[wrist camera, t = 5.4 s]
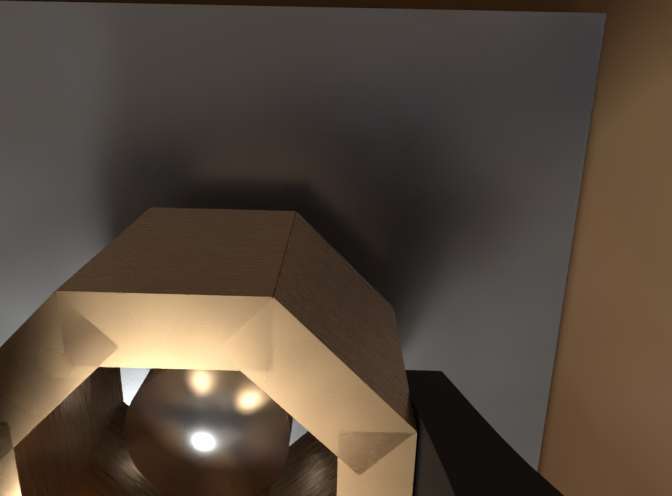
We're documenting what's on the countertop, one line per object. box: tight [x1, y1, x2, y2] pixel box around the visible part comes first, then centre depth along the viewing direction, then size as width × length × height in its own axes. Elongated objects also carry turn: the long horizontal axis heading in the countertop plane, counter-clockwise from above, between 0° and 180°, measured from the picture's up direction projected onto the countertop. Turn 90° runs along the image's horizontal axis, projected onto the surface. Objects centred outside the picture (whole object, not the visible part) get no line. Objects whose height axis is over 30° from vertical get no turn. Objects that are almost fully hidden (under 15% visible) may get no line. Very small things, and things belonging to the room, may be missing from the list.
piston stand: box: [0, 1, 607, 496], centre depth 11 cm, size 12×12×4 cm
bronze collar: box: [0, 207, 417, 496], centre depth 9 cm, size 6×6×3 cm
